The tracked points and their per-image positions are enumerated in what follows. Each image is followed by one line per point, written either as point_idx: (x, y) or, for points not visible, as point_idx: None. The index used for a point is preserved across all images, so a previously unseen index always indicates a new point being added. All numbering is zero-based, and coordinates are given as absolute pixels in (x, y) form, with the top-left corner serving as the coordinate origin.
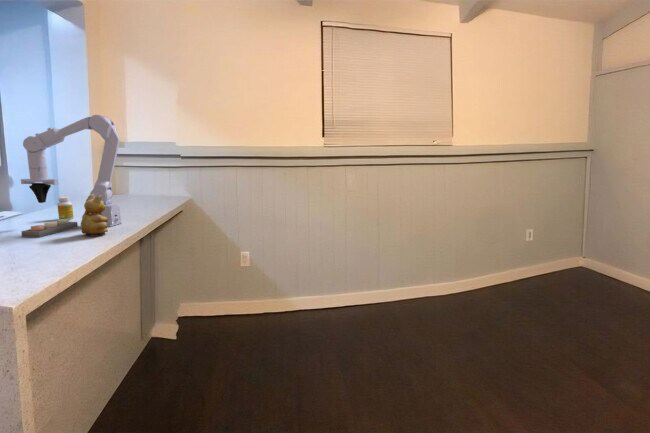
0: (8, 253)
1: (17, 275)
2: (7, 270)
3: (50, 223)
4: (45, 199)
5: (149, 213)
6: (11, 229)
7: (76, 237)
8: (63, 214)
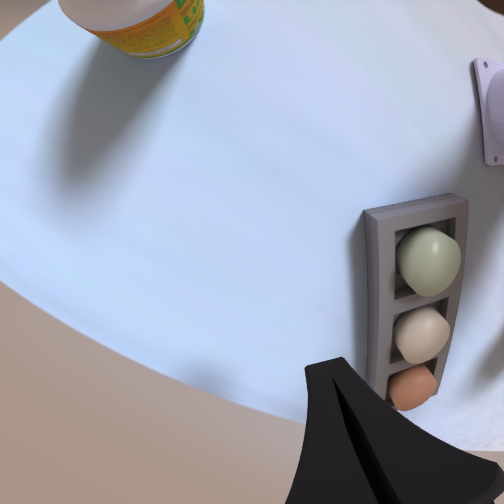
0: None
1: (500, 443)
2: (484, 449)
3: (433, 346)
4: (356, 378)
5: None
6: (174, 360)
7: None
8: (173, 38)
